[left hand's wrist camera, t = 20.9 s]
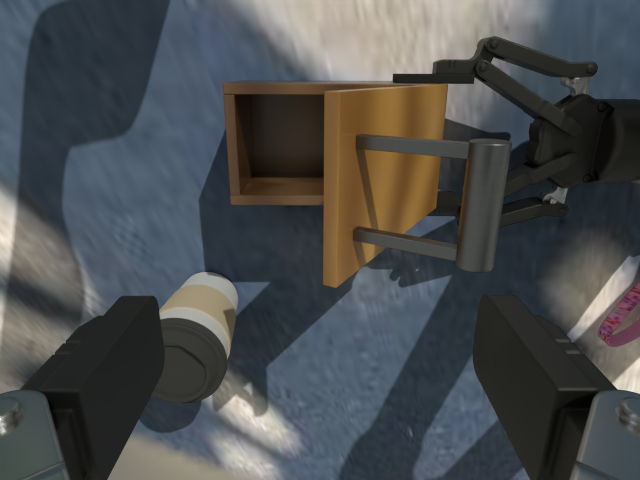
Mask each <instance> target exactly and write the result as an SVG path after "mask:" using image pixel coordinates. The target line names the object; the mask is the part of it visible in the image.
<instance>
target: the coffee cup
mask: <svg viewBox="0 0 640 480" xmlns="http://www.w3.org/2000/svg"><path fill="white" fill-rule="evenodd" d="M237 305H238V294H237V291H236V289H235V287H234V286H233V284H232V283H231V282H230V281H229V280H228V279H226V278H225V277H223V276H222V275H219V274H217V273H213V272H201V273H197V274H195V275H193V276H191V277H190V278H189V279H188V280H187V281H186V282H185V283H184V284H183V285H182V287H181V288H180V289H179V290H177V291H176V292H175V293H174V294H173V295H172V296H171V297H170V299H169V300H168V301H167V302H166V303H165V304H164V306H163V307H162V308H161V309H160V310H159V314H160V321H161V328H162V335H163V342H164V349H165V362H164V368H163V372H162V375H161V377H160V379H159V381H158V383H157V385H156V387H155V389H154V391H153V393H152V395H153V396H155V397H157V398H159V399H161V400H164V401H167V402H173V403H191V402H197V401H200V400H203V399H205V398H207V397H209V396H210V395H212V394H213V393H214V392H215V391H216V390H217V389H218V387H219V386H220V384H221V382H222V380H223V378H224V376H225V373H226V370H227V359H228V357H229V353H230V348H231V343H232V337H233V332H234V327H235V321H236V310H237Z"/></svg>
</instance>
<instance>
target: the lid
mask: <svg viewBox="0 0 640 480" xmlns="http://www.w3.org/2000/svg"><path fill="white" fill-rule="evenodd" d="M447 91H448V84H430V85H414V86H398V87H383V88H367V89H351V90H336V91H325V92H324V223H323V285H326V286H330V287H334V288H337V287H338V286H339V285H341V284H342V283H343V282H344V281H346V280H347V279H348V278H349V277H351V276H352V275H353V274H354V273H356V272H357V271H358V270H359V269H361V268H362V267H363V266H364V265H366V264H367V263H368V262H369V261H371V260H372V259H373V258H374V257H375V256H377V255H378V254H379V253H380V252H382V251H383V250H384V249H385V248H387V247H388V248H393V249H398V250H403V251H407V252H412V253H417V254H422V255H427V256H432V257H437V258H442V259H447V260H452V261H455V265H456V266H457V267H459V268H460V269H462V270H465V271H469V272H476V273H483V272H488V271H491V270H492V269H493V266H494V259H495V252H496V246H497V239H498V233H499V226H500V219H501V213H502V206H503V200H504V193H505V186H506V180H507V173H508V167H509V160H510V153H511V147H512V143H511V142H510V141H507V140H501V139H485V138H481V139H472V140H470V141H469V142H463V141H450V140H443V131H444V121H445V111H446V101H447ZM441 157H450V158H460V159H467V163H466V171H465V180H464V188H463V197H462V205H461V214H460V222H459V231H458V239H457V244H453V243H448V242H442V241H437V240H431V239H426V238H421V237H415V236H410V235H404V233H405V232H407V231H408V230H409V229H410V228H412V227H413V226H414V225H415V224H417V223H418V222H419V221H420V220H422V219H423V218H424V217H425V216H427V215H428V214H429V213H430V212H431V211H433V210H434V209H435V208H436V203H437V193H438V183H439V172H440V162H441Z"/></svg>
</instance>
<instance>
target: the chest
mask: <svg viewBox="0 0 640 480" xmlns="http://www.w3.org/2000/svg"><path fill="white" fill-rule="evenodd" d="M430 84H436V83H393V81H237V82H228V83H223V93H224V94H225V95H224V109H225V123H226V138H227V153H228V168H229V182H230V198H231V205H324V92H325V91H336V90H351V89H367V88H383V87H398V86H414V85H430Z"/></svg>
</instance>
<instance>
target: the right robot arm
mask: <svg viewBox="0 0 640 480" xmlns="http://www.w3.org/2000/svg"><path fill="white" fill-rule="evenodd" d="M493 57H495V58H497V59H500V60H503V61H506V62H509V63H512V64H515V65H518V66H521V67H524V68H526V69H529V70H532V71H535V72H538V73H541V74H544V75H547V76H551V77H561V78H560V83H561V85H562V86H564V87H568V88H569V89H570V92H571V94H570V95H568V96H567V97H565V98H564V99H562V100H561V101H559V102H558V103H556V104H555V105H553V104H551V103H550V102H548V101H545V100H543V99H542V98H540V97H539V96H537V95H536V94H535V93H533V92H532V91H530V90H529V89H527V88H526V87H524V86H523V85H522V84H520V83H519V82H517V81H516V80H514V79H513V78H511V77H510V76H509V75H507V74H506V73H504V72H503V71H501V70H500V69H498V68H497V67H496V66H494V65H493V64H491V61H492V59H493ZM597 69H598V66H597V64H596V63H595V62H572V63H571V62H568V61H565V60H562V59H559V58H556V57H553V56H551V55H548V54H545V53H542V52H539V51H536V50H533V49H531V48H528V47H525V46H522V45H519V44H516V43H513V42H511V41H508V40H505V39H502V38H499V37H495V36H494V37H489V38H484V39H481V40H480V41H479V42H478V45H477V50H476V52H475V54H474V56H473V57H472V58H471V59H469V60H438V61H436V62H433V72H432V74H393V83H436V84H474V77H475V78H477V79H478V80H480V81H481V82H483V83H484V84H486V85H487V86H488V87H490V88H491V89H493V90H494V91H496V92H497V93H499V94H500V95H502V96H503V97H505V98H506V99H508V100H509V101H511V102H512V103H513V104H515V105H516V106H518V107H519V108H521V109H522V110H523V111H524V112H525V113H527V114H528V115H529V116H531V117H532V118H534V119H535V120H534V122H533V123H530V128H529V137H530V141H529V143H528V146H527V148H526V153H525V157H527V160H525V161H523V162H521V163H519V164H517V165H516V166H515V167H514V169H512V170H510V171H508V173H507V180H506V186H505V193H504V198H505V197H507V196H509V195H511V194H513V193H515V192H516V191H518V190H520V189H522V188H524V187H526V186H528V185H532V184H536V183H539V182H540V181H542V180H544V179H547V180H548V181H550V182H551V183H552V184H553V187H552V188H551V189H550V190H548V191H544V192H542V193H540V194H539V197H531V198H526V199H522V200H519V201H515V202H511V203H508V204H504V205H503V206H502V213H501V219H500V226H499V227H503V226H507V225H510V224H514V223H518V222H521V221H525V220H529V219H533V218H536V217H540V216H558V217H562V216H565V215H566V214H567V213H568V206H566V205H565V204H564V201H565V198H566V194H567V190H568V188H570V187H572V186H574V185H576V184H580V183H628V182H632V183H640V100H638V99H594V98H592V97H591V96H589V95H587V91H588V85H589V78H590V77H591V76H593V75H594V74H595V73H596V72H597ZM462 197H463V196H461V197H460V198H459V197H458V196H457V195H456V194H455V193H454V192H453V191H438V193H437V203H436V208H435V209H434V210H433V211H431V212H430V213H429V214H428V216H456V218H457V225H458V226H459V222H460V214H461V205H462Z"/></svg>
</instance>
